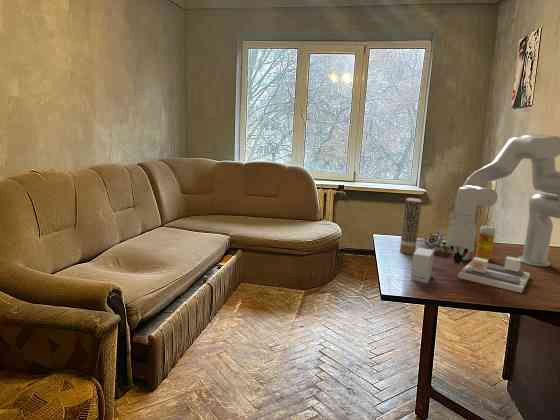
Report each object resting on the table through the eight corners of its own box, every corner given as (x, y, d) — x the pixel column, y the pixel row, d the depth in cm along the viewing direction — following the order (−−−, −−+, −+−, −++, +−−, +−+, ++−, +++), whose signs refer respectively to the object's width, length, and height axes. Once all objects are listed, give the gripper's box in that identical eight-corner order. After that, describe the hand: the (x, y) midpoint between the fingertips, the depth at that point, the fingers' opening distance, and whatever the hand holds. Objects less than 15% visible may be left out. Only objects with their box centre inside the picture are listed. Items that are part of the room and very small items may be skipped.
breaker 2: (505, 266, 171) (507, 256, 170) (519, 269, 168) (521, 259, 167) (504, 268, 167) (505, 258, 167) (518, 272, 165) (520, 261, 164)
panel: (470, 264, 181) (471, 258, 181) (529, 277, 169) (530, 270, 168) (458, 277, 164) (459, 270, 163) (521, 293, 151) (523, 285, 151)
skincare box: (414, 272, 167) (417, 246, 165) (431, 275, 164) (435, 249, 162) (409, 279, 158) (413, 253, 156) (427, 283, 155) (431, 256, 153)
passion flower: (428, 262, 200) (416, 239, 202) (440, 255, 206) (428, 233, 208) (447, 255, 191) (434, 231, 193) (459, 247, 197) (446, 225, 199)
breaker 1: (473, 267, 167) (474, 256, 166) (486, 270, 164) (488, 259, 163) (470, 270, 163) (472, 259, 162) (484, 273, 160) (486, 262, 159)
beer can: (476, 259, 190) (481, 227, 188) (475, 255, 196) (480, 224, 193) (490, 261, 188) (496, 229, 185) (489, 258, 194) (494, 226, 191)
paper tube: (417, 253, 195) (424, 200, 190) (410, 255, 190) (417, 201, 185) (403, 249, 199) (410, 197, 194) (397, 252, 194) (403, 198, 189)
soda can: (472, 262, 186) (476, 235, 183) (455, 260, 187) (459, 234, 185) (469, 257, 193) (472, 232, 190) (452, 255, 194) (456, 230, 192)
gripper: (441, 216, 166) (435, 260, 169) (482, 223, 157) (475, 269, 161) (447, 214, 172) (440, 257, 175) (486, 220, 163) (479, 265, 167)
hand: (457, 263), depth 168 cm, fingers closed
